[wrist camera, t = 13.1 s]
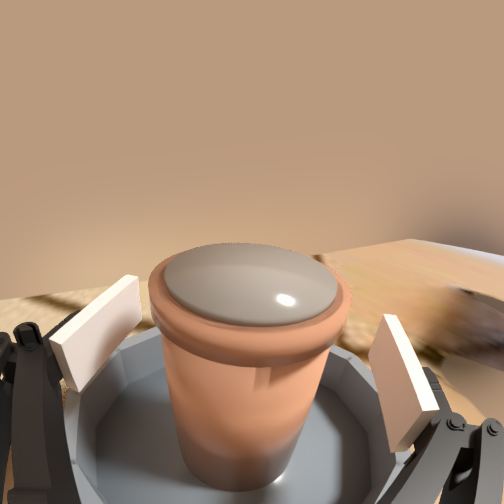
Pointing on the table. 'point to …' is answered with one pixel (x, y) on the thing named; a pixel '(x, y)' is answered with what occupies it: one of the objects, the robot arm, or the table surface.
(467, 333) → the table surface
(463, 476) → the robot arm
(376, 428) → the slate bowl
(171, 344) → the terracotta jar
